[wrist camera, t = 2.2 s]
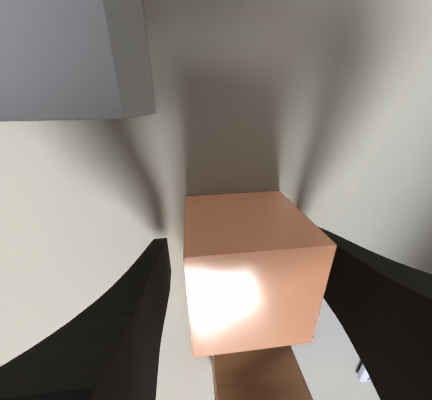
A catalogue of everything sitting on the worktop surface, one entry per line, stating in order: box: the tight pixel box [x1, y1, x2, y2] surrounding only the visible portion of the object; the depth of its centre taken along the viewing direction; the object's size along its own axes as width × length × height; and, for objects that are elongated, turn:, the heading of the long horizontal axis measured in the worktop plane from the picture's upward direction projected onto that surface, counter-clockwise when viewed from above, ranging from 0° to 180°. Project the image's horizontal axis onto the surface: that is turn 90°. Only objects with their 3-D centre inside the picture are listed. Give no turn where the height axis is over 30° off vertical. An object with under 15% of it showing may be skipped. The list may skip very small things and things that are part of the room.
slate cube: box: [0, 0, 156, 121], centre depth 6 cm, size 5×5×5 cm
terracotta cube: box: [183, 191, 337, 358], centre depth 10 cm, size 5×5×5 cm
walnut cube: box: [212, 345, 313, 400], centre depth 14 cm, size 5×5×5 cm
